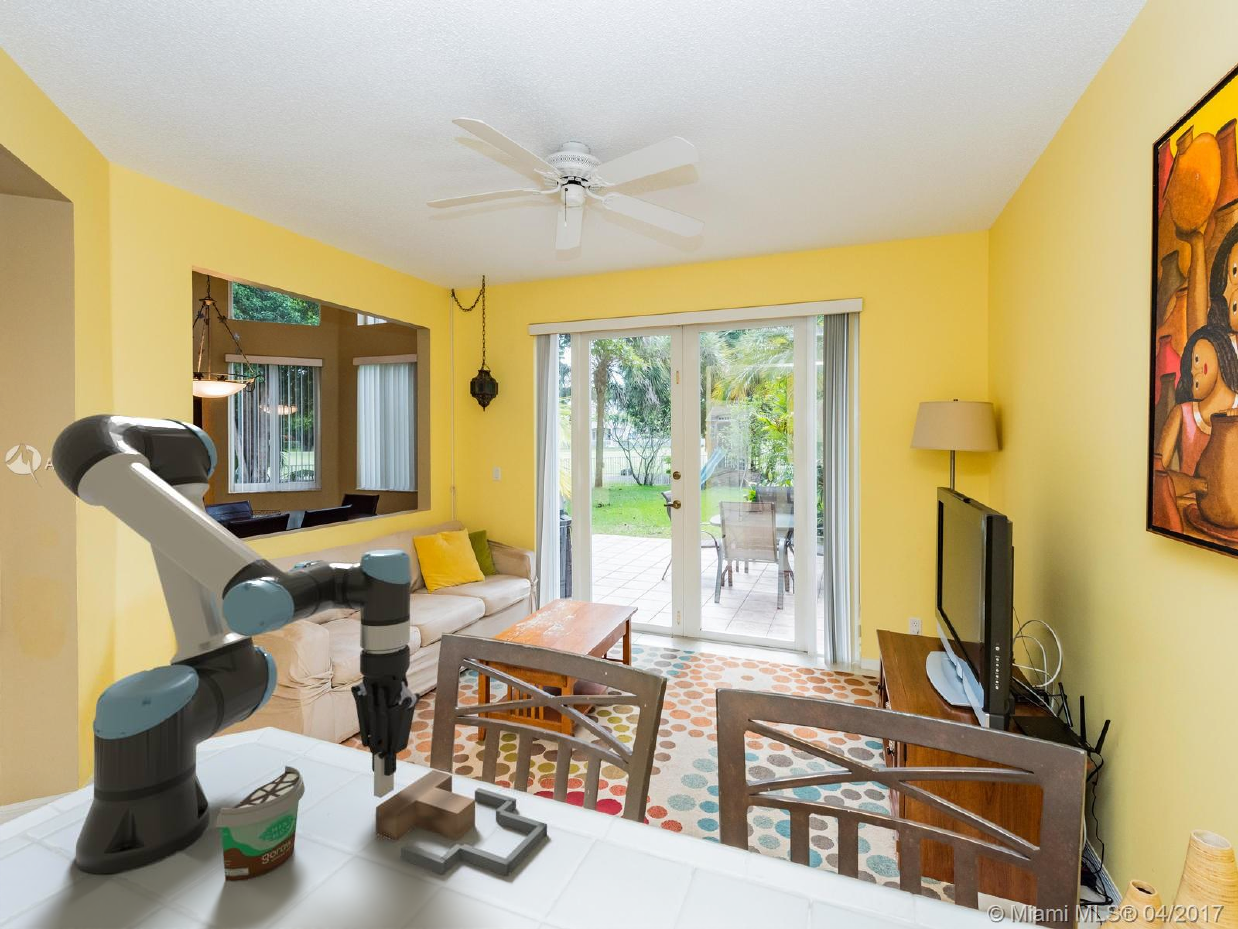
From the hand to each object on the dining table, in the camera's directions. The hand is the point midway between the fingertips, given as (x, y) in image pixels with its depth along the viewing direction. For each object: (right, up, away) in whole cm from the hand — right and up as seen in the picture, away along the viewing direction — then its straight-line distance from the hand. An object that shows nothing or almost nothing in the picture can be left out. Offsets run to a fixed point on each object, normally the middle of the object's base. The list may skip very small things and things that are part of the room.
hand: (383, 792), depth 95 cm
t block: (+10, -2, -5) cm, 11 cm away
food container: (-10, -2, -14) cm, 17 cm away
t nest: (+18, -2, -9) cm, 20 cm away
